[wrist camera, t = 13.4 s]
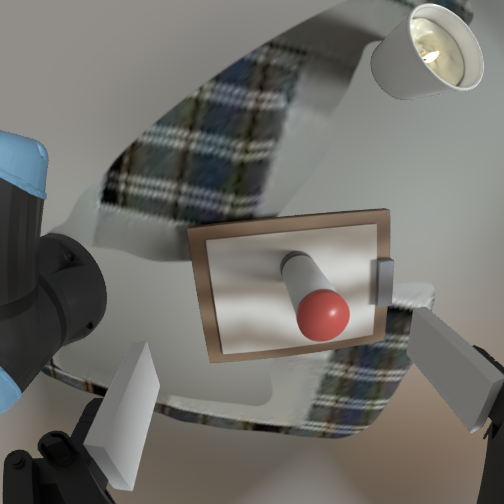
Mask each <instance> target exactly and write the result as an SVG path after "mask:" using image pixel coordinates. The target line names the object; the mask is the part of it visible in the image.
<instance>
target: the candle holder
mask: <svg viewBox="0 0 504 504" xmlns="http://www.w3.org/2000/svg"><path fill="white" fill-rule="evenodd" d="M371 70H372V73H373V76H374V78H375V80H376V82H377V83H378V85H379V86H380V87H381V88H382V89H383V90H384V91H385V92H386V93H388V94H389V95H391V96H392V97H394V98H397V99H400V100H414V99H419V98H424V97H429V96H434V95H439V94H444V93H450V92H456V91H466V90H470V89H472V88H474V87H476V86H477V85H478V84H479V82H480V81H481V79H482V76H483V71H484V62H483V56H482V52H481V49H480V46H479V44H478V42H477V40H476V38H475V36H474V34H473V33H472V32H471V30H470V29H469V27H468V26H467V25H466V24H465V23H464V22H463V21H462V20H461V19H460V18H459V17H458V16H457V15H456V14H454V13H453V12H451V11H450V10H448V9H446V8H444V7H442V6H439V5H435V4H421V5H419V6H417V7H415V8H414V9H413V10H412V11H411V12H410V14H409V15H408V16H407V17H406V18H405V19H404V20H403V21H402V22H401V23H400V24H399V25H398V26H397V27H396V28H395V29H394V30H393V31H392V32H391V33H390V34H389V35H388V36H387V37H386V38H385V39H384V40H383V41H382V42H381V43H380V44H379V45H378V46H377V48H376V49H375V50H374V52H373V54H372V57H371Z"/></svg>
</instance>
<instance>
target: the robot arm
mask: <svg viewBox="0 0 504 504" xmlns="http://www.w3.org/2000/svg"><path fill="white" fill-rule="evenodd" d="M47 168H48V153H47V150H46V148H45V147H44V145H43V144H42V143H40V142H39V141H37V140H34V139H31V138H28V137H24V136H20V135H17V134H12V133H9V132H5V131H1V130H0V414H2V413H4V412H6V411H7V410H8V409H9V408H10V407H11V406H12V405H13V404H14V403H15V402H16V401H17V400H19V399H20V398H21V397H22V395H21V394H22V393H23V392H24V391H25V389H26V388H27V387H28V386H29V384H30V383H31V382H32V381H33V380H34V378H35V377H36V376H37V375H38V374H39V372H40V371H41V370H42V369H43V368H44V366H45V365H46V364H47V363H48V362H49V360H50V359H51V358H52V357H53V356H54V355H55V353H56V352H57V351H58V350H59V349H60V348H61V347H62V346H65V345H68V344H70V343H73V342H75V341H78V340H81V339H83V338H85V337H86V336H88V335H89V334H90V333H91V332H92V331H93V330H94V329H95V328H96V327H97V325H98V324H99V323H100V321H101V320H102V318H103V316H104V313H105V310H106V304H107V292H106V286H105V282H104V278H103V275H102V273H101V270H100V268H99V267H98V265H97V263H96V261H95V260H94V258H93V257H92V256H91V254H90V253H89V252H88V251H87V250H86V249H85V248H84V247H83V246H82V245H81V244H79V243H78V242H77V241H75V240H73V239H72V238H70V237H67V236H64V235H60V234H48V235H44V236H42V237H40V232H41V222H42V214H43V206H44V199H46V193H45V186H46V176H47ZM406 354H407V355H408V356H409V358H410V359H411V360H412V361H413V362H414V364H415V365H416V366H417V367H418V368H419V370H420V371H421V372H422V373H423V374H424V376H425V377H426V378H427V379H428V380H429V382H430V383H431V384H432V385H433V387H434V388H435V389H436V390H437V392H438V393H439V394H440V395H441V397H442V398H443V399H444V400H445V402H446V403H447V404H448V405H449V407H450V408H451V409H452V410H453V412H454V413H455V414H456V416H457V417H458V418H459V419H460V421H461V422H462V423H463V425H464V426H465V427H466V428H467V430H468V431H469V432H470V433H471V432H474V431H476V430H478V429H480V428H482V427H483V426H484V424H485V422H486V420H487V418H488V417H489V418H490V419H491V420H492V422H491V424H490V426H489V428H488V429H487V431H486V433H485V435H484V437H483V439H485V438H486V437H487V435H488V434H489V435H488V444H487V452H486V459H485V465H484V471H483V476H482V482H481V486H480V491H479V496H478V500H477V504H504V367H503V366H502V365H501V364H499V363H498V362H497V361H495V359H494V358H493V357H490V355H489V354H488V353H487V352H486V351H485V350H484V349H482V348H479V347H477V346H475V345H474V346H471V345H470V344H469V343H468V342H467V341H465V340H464V339H463V338H462V337H461V336H460V335H458V334H457V333H456V332H455V331H454V330H453V329H451V328H450V327H449V326H448V325H447V324H446V323H444V322H443V321H442V320H441V319H440V318H438V317H437V316H436V315H435V314H433V313H432V312H431V311H430V310H429V309H428V308H426V307H421V308H416V309H413V316H412V323H411V330H410V336H409V342H408V347H407V353H406ZM159 388H160V384H159V382H158V378H157V375H156V372H155V368H154V365H153V361H152V358H151V355H150V351H149V347H148V344H147V341H142V342H141V341H140V342H132V343H131V345H130V347H129V349H128V351H127V353H126V355H125V356H124V358H123V360H122V362H121V364H120V366H119V368H118V371H117V373H116V374H115V377H114V379H113V381H112V383H111V385H110V387H109V389H108V391H107V393H106V395H105V397H104V398H94V399H93V400H92V401H91V402H89V403H88V404H87V405H86V407H85V409H84V411H83V413H82V416H81V417H80V419H79V422H78V423H77V425H76V427H75V429H74V431H73V433H72V435H71V437H69V436H68V435H67V433H64V432H63V431H51V432H48V433H47V434H45V435H44V436H43V437H42V438H41V439H40V440H39V442H38V450H39V452H40V453H41V455H42V456H43V457H44V458H37V459H36V458H35V459H33V458H32V457H31V455H30V454H29V453H28V452H27V451H25V450H15V451H12V452H11V453H9V454H8V455H7V457H6V459H5V461H4V472H3V504H116V503H115V501H114V500H113V498H112V497H111V495H110V494H109V492H108V491H107V489H106V486H107V483H108V481H109V482H110V484H111V485H112V486H113V488H114V489H121V490H129V491H133V487H134V483H135V479H136V475H137V470H138V466H139V462H140V458H141V454H142V450H143V446H144V443H145V439H146V435H147V431H148V427H149V424H150V420H151V416H152V413H153V409H154V406H155V402H156V398H157V395H158V391H159Z"/></svg>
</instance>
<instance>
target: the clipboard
mask: <svg viewBox="0 0 504 504" xmlns="http://www.w3.org/2000/svg"><path fill="white" fill-rule="evenodd" d="M187 233H188V240H189V246H190V253H191V260H192V266H193V272H194V278H195V284H196V291H197V296H198V302H199V308H200V313H201V319H202V324H203V330H204V335H205V340H206V345H207V350H208V355H209V360H210V363H221V362H234V361H246V360H256V359H267V358H276V357H284V356H292V355H300V354H307V353H314V352H321V351H327V350H334V349H340V348H345V347H351V346H357V345H362V344H367V343H373V342H378V341H383V340H384V337H385V327H386V316H387V306H390V305H391V304H392V290H393V272H394V260H393V259H391V258H390V210H389V209H385V208H382V209H369V210H356V211H355V210H354V211H341V212H329V213H317V214H307V215H295V216H285V217H273V218H263V219H253V220H243V221H234V222H224V223H215V224H206V225H197V226H189V227H188V228H187ZM293 251H303V252H305V253H307V254H309V255H310V257H311V258H312V259H313V260H314V262H315V263H316V264H317V266H318V267H319V268H320V270H321V271H322V272H323V274H324V275H325V276H326V278H327V279H328V281H329V282H330V283H331V285H332V286H333V287H334V289H335V290H336V291H337V293H339V294H340V295H341V296H342V297H343V299H344V300H345V302H346V303H347V305H348V307H349V310H350V318H349V322H348V324H347V326H346V328H345V329H344V331H343V332H342V333H341V334H340V335H338V336H337V337H335V338H333V339H331V340H328V341H323V342H317V341H312V340H310V339H308V338H306V337H305V336H304V335H303V334H302V333H301V331H300V329H299V327H298V324H297V321H296V314H295V311H294V309H293V306H292V303H291V300H290V297H289V295H288V292H287V289H286V286H285V284H284V281H283V278H282V275H281V272H280V264H281V261H282V259H283V258H284V257H285V256H286V255H287V254H288V253H290V252H293Z"/></svg>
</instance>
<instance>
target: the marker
mask: <svg viewBox="0 0 504 504" xmlns="http://www.w3.org/2000/svg"><path fill="white" fill-rule="evenodd" d="M280 272H281V275H282V278H283V281H284V284H285V286H286V289H287V292H288V295H289V297H290V300H291V303H292V306H293V309H294V311H295V314H296V321H297V324H298V327H299V329H300V331H301V333H302V334H303V335H304V336H305V337H306V338H308V339H310V340H312V341H317V342H323V341H328V340H331V339H333V338H335V337H337V336H338V335H340V334H341V333H342V332H343V331H344V329H345V328H346V326H347V324H348V322H349V318H350V310H349V307H348V305H347V303H346V302H345V300H344V299H343V297H342V296H341V295H340V294H339V293H337V291H336V290H335V289H334V287H333V286H332V285H331V283H330V282H329V281H328V279H327V278H326V276H325V275H324V274H323V272H322V271H321V270H320V268H319V267H318V266H317V264H316V263H315V262H314V260H313V259H312V258H311V257H310V255H309V254H307V253H305V252H303V251H293V252H290V253H288V254H287V255H286V256H285V257H284V258H283V259H282V261H281V264H280Z"/></svg>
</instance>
